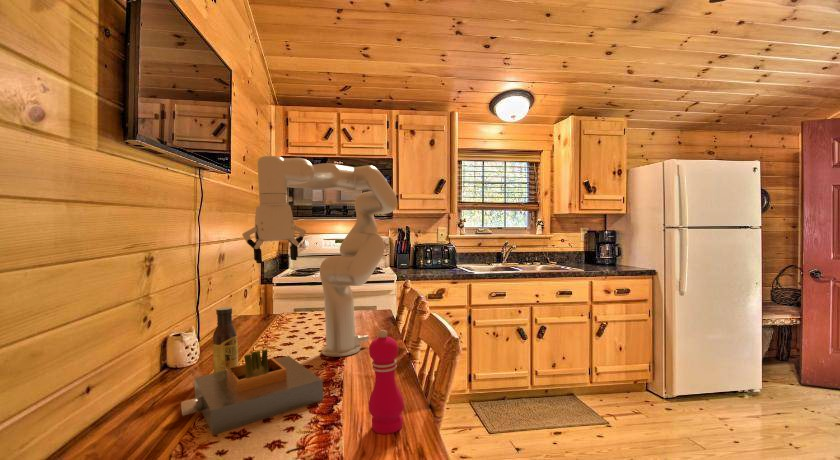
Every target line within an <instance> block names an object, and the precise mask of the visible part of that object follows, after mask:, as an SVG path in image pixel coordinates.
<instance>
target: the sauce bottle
mask: <svg viewBox="0 0 840 460" xmlns="http://www.w3.org/2000/svg"><path fill="white" fill-rule="evenodd" d="M215 311H216V317H217V322H216V324H217V326H216V328H215V330H214V332H213V334H212V335H213V336H212V337H213V339H212V340H213V342H212V352H213V353H212V354H213V359H212V360H213V373H217V372H221V371H225V370H226V368H230V367H234V366H238V365H239V348H238V347H239V345H238V344H239V343H238V342H239V341H238V334H237V332H236V330H235V327H234V324H233V317H232V316H233V308H232V307H227V306H226V307H221V308H217V309H216V310H215Z"/></svg>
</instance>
